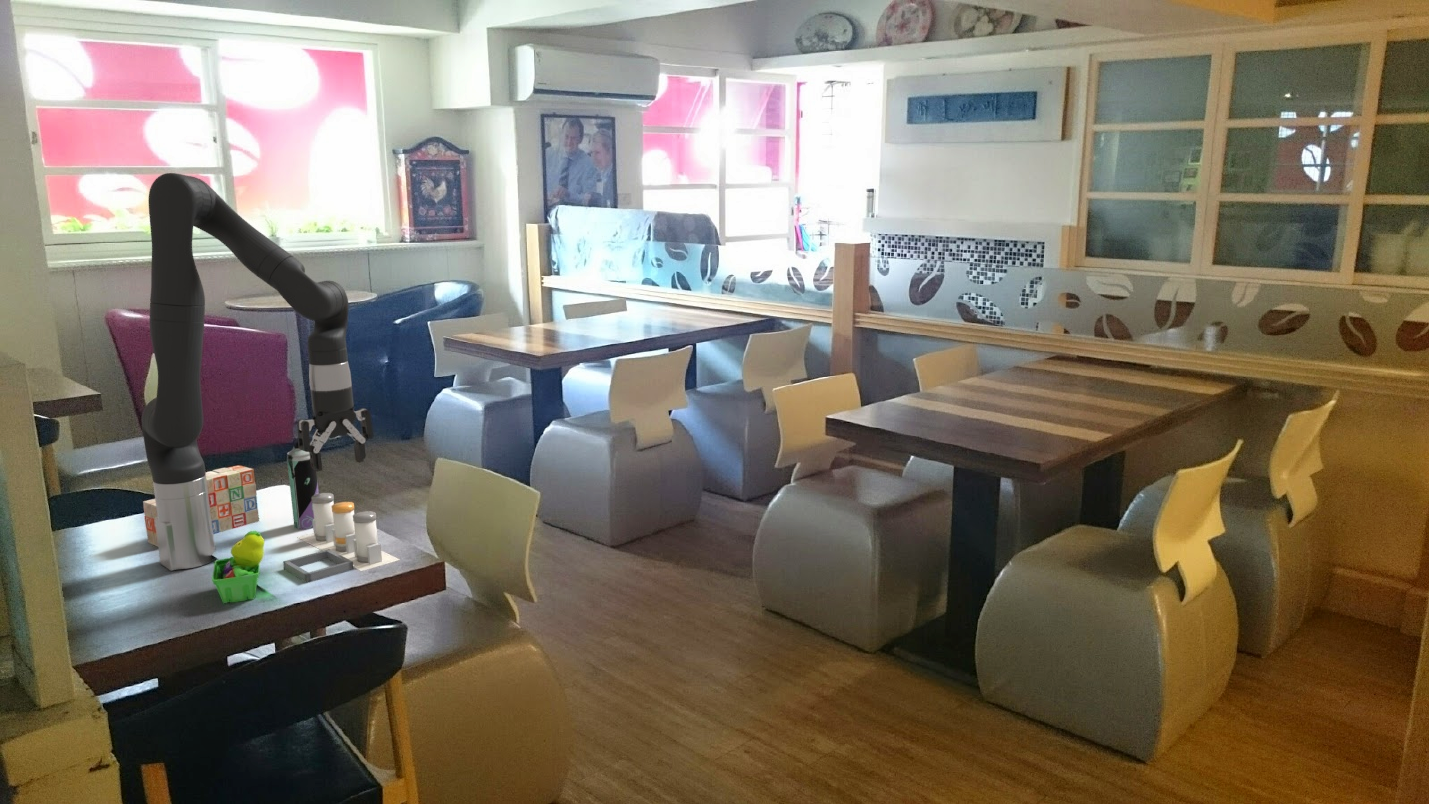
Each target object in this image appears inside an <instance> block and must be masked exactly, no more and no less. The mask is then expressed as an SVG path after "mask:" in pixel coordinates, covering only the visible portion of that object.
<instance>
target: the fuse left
mask: <svg viewBox="0 0 1429 804" xmlns="http://www.w3.org/2000/svg"><path fill="white" fill-rule="evenodd" d="M334 499H335V498H334V494H333V493H331V492H322V493H321V492H319V494H316V495H313V496H312V503H313V512H314V522H315V531H316V534H315V537H316V540H317V541H326V534H325V525H329V524H333V523H334V521H333V512H332V505H333V504H335V503H334Z"/></svg>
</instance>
